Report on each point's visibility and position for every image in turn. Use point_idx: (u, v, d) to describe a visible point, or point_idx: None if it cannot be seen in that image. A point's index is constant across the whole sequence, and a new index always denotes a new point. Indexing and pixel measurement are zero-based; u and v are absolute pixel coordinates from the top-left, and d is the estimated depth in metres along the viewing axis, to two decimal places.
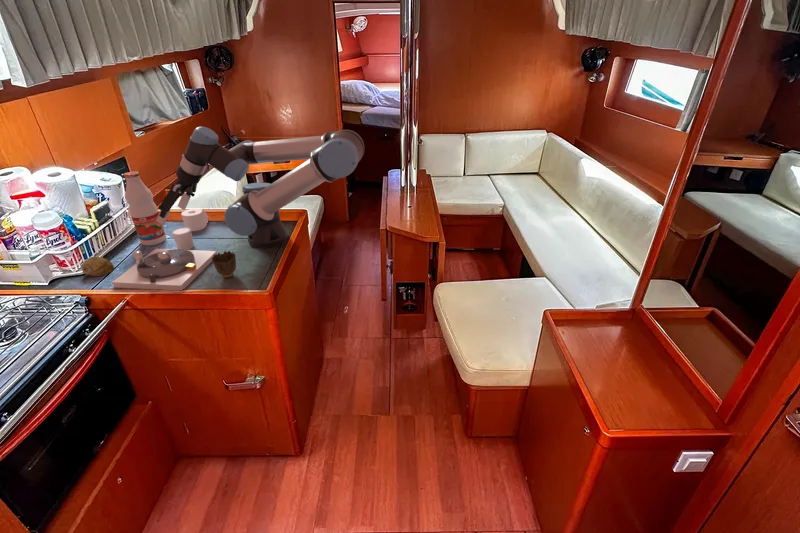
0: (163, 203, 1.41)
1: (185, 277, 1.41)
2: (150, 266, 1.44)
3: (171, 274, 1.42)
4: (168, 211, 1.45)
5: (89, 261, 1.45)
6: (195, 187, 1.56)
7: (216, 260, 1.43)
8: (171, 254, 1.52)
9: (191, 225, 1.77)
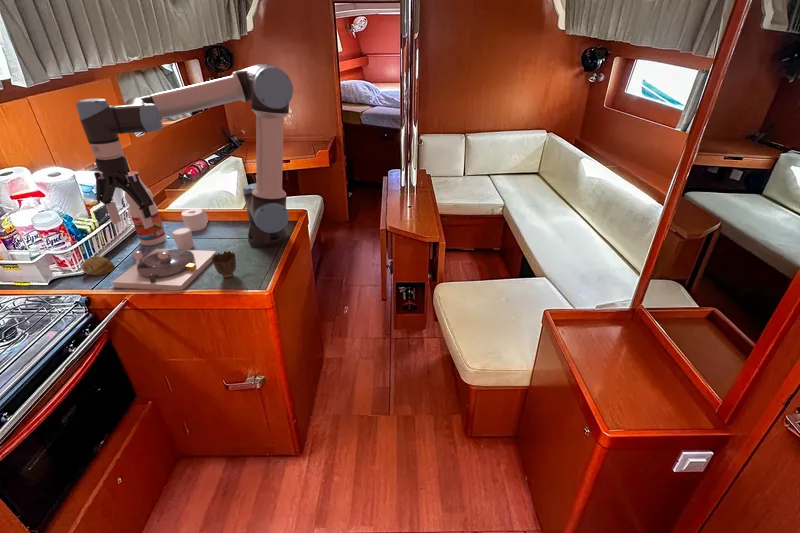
0: (144, 198, 1.26)
1: (185, 277, 1.41)
2: (150, 266, 1.44)
3: (171, 274, 1.42)
4: None
5: (90, 260, 1.45)
6: (105, 189, 1.31)
7: (216, 260, 1.43)
8: (171, 254, 1.52)
9: (191, 225, 1.77)
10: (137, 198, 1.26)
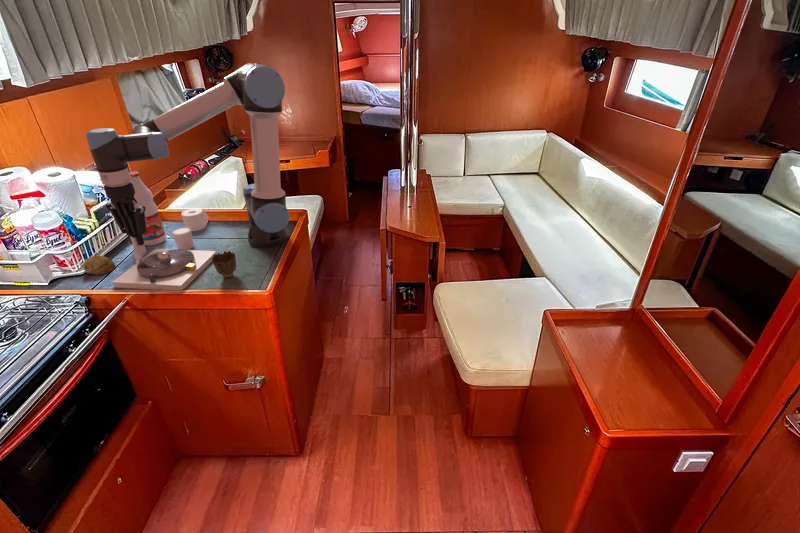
0: (141, 228, 1.31)
1: (185, 277, 1.41)
2: (150, 266, 1.44)
3: (171, 274, 1.42)
4: None
5: (90, 260, 1.46)
6: None
7: (216, 260, 1.43)
8: (171, 254, 1.52)
9: (191, 225, 1.77)
10: (135, 227, 1.32)
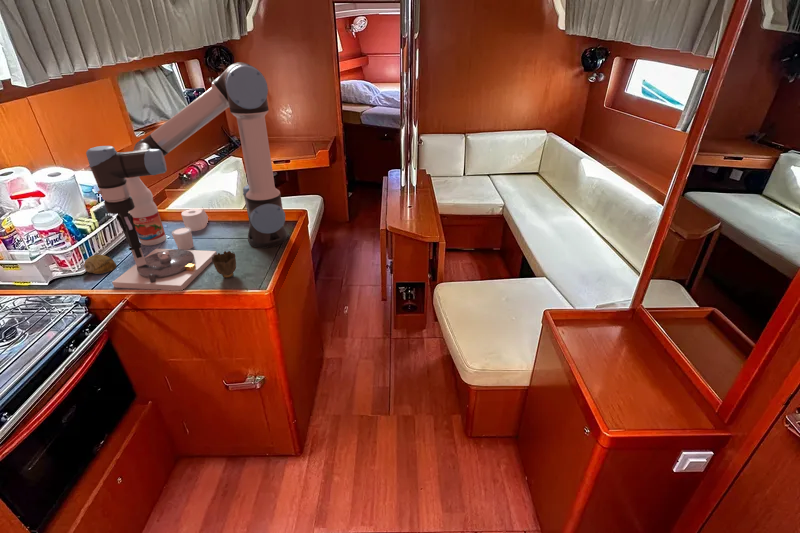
0: (133, 243, 1.34)
1: (185, 277, 1.41)
2: (150, 266, 1.44)
3: (170, 274, 1.42)
4: None
5: (91, 259, 1.46)
6: None
7: (216, 260, 1.43)
8: (171, 254, 1.52)
9: (191, 225, 1.77)
10: None
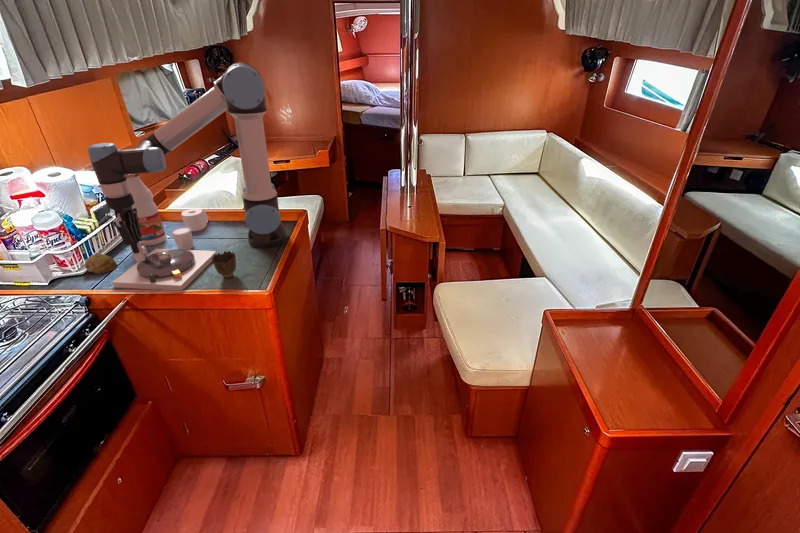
0: (125, 240, 1.37)
1: (185, 277, 1.41)
2: (150, 263, 1.46)
3: (155, 277, 1.40)
4: (137, 243, 1.41)
5: (92, 258, 1.47)
6: (138, 227, 1.43)
7: (216, 260, 1.43)
8: (178, 255, 1.51)
9: (191, 225, 1.77)
10: None
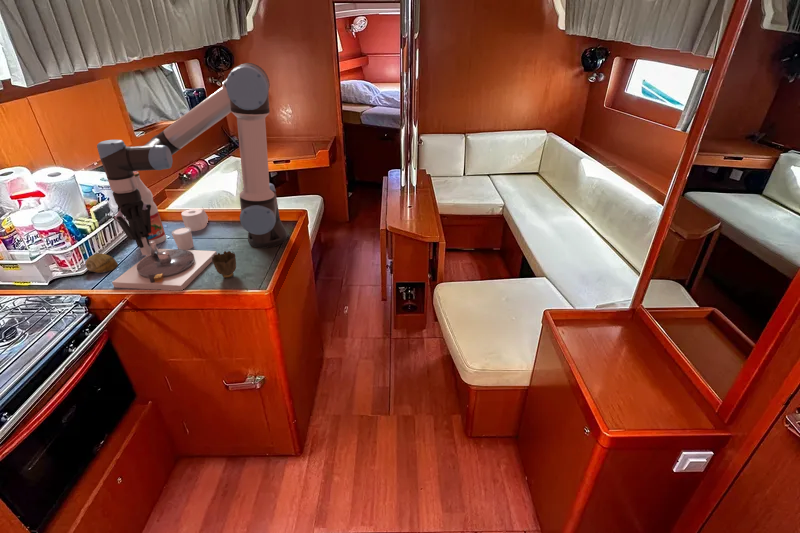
0: (126, 234, 1.41)
1: (185, 277, 1.41)
2: (153, 259, 1.49)
3: (143, 275, 1.41)
4: (142, 239, 1.44)
5: (92, 258, 1.47)
6: (148, 223, 1.46)
7: (216, 260, 1.43)
8: (181, 257, 1.50)
9: (191, 225, 1.77)
10: (132, 230, 1.42)
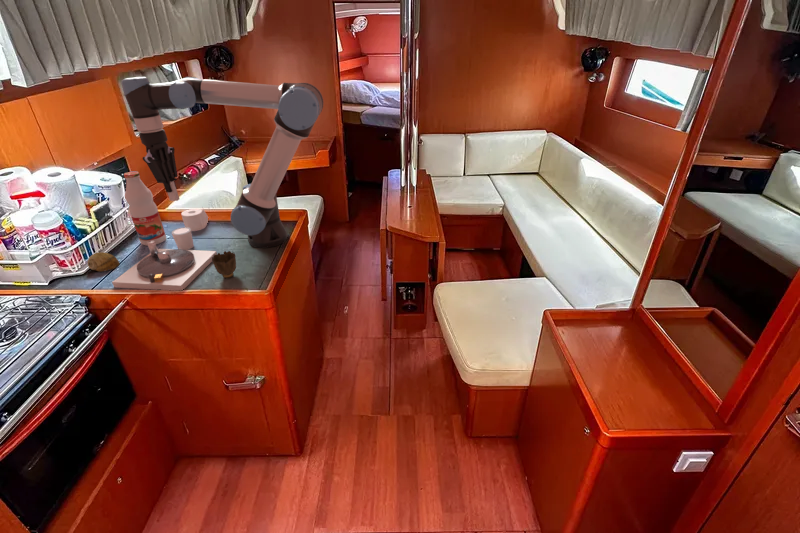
0: (156, 177, 1.39)
1: (185, 277, 1.41)
2: (153, 259, 1.49)
3: (143, 275, 1.41)
4: (170, 183, 1.43)
5: (94, 256, 1.48)
6: (174, 166, 1.44)
7: (216, 260, 1.43)
8: (181, 257, 1.50)
9: (191, 225, 1.77)
10: None
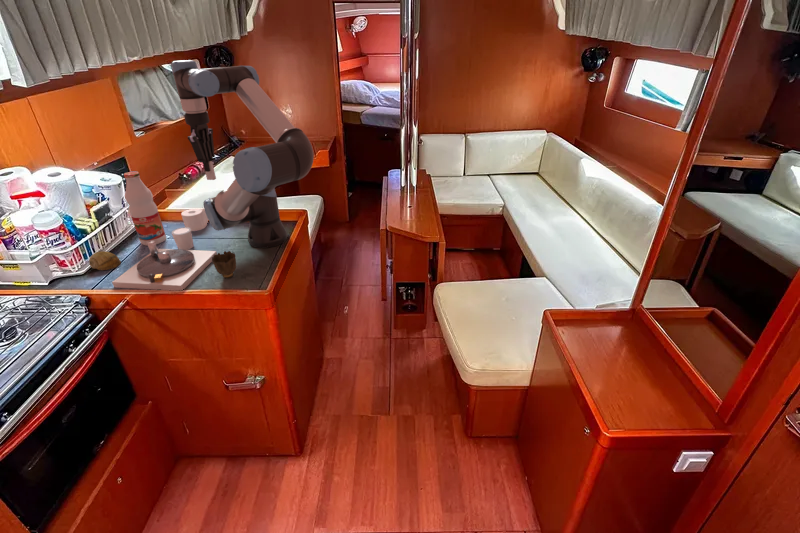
0: (197, 156, 1.46)
1: (185, 277, 1.41)
2: (153, 259, 1.49)
3: (143, 275, 1.41)
4: (209, 162, 1.50)
5: (95, 255, 1.48)
6: (212, 147, 1.52)
7: (216, 260, 1.43)
8: (181, 257, 1.50)
9: (191, 225, 1.77)
10: None
